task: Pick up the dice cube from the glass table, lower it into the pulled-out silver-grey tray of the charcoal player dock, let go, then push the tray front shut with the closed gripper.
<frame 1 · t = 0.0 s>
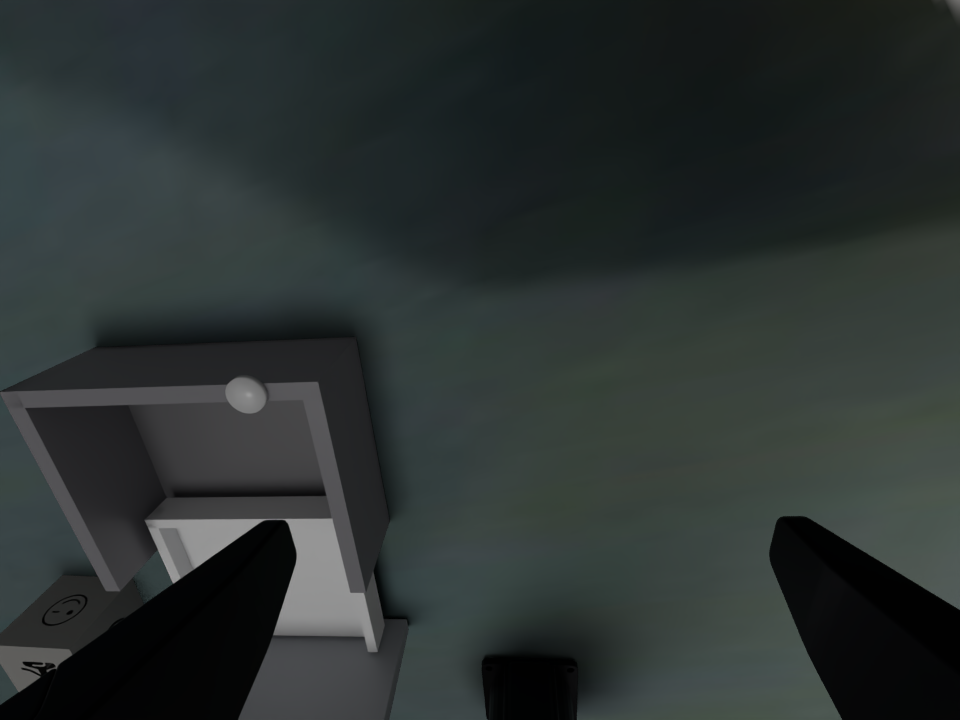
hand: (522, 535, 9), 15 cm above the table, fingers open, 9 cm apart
housing: (252, 441, 26), on the table
dice cube: (112, 599, 33), on the table
tray: (264, 609, 27), point 3 cm above the table, slide at 8.0 cm
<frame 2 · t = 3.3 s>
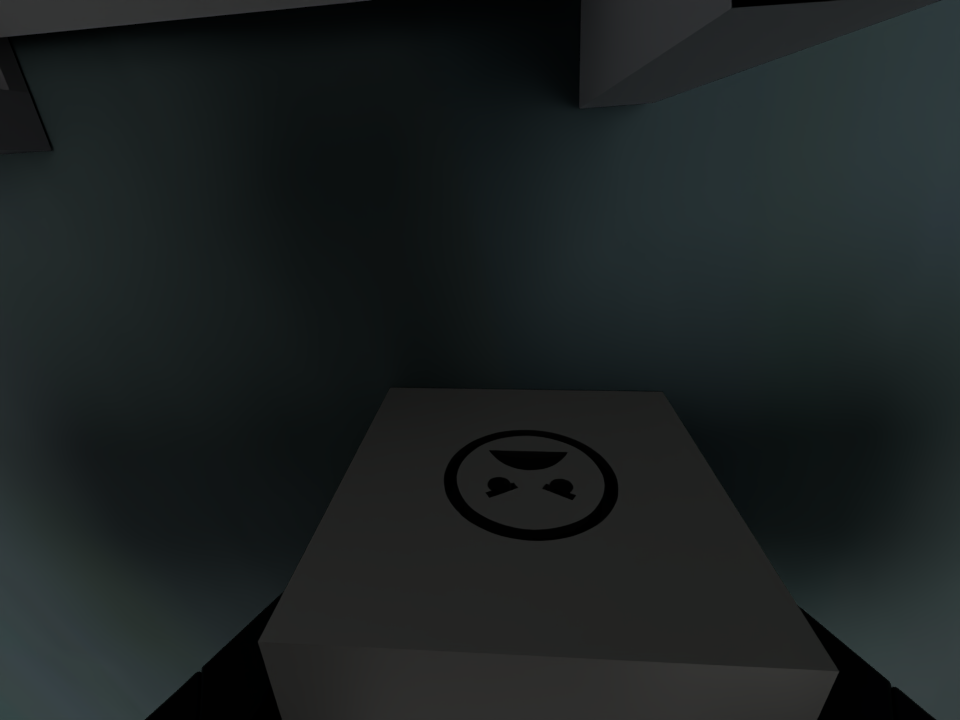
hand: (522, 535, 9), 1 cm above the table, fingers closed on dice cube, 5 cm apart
dice cube: (520, 491, 10), on the table, touching gripper
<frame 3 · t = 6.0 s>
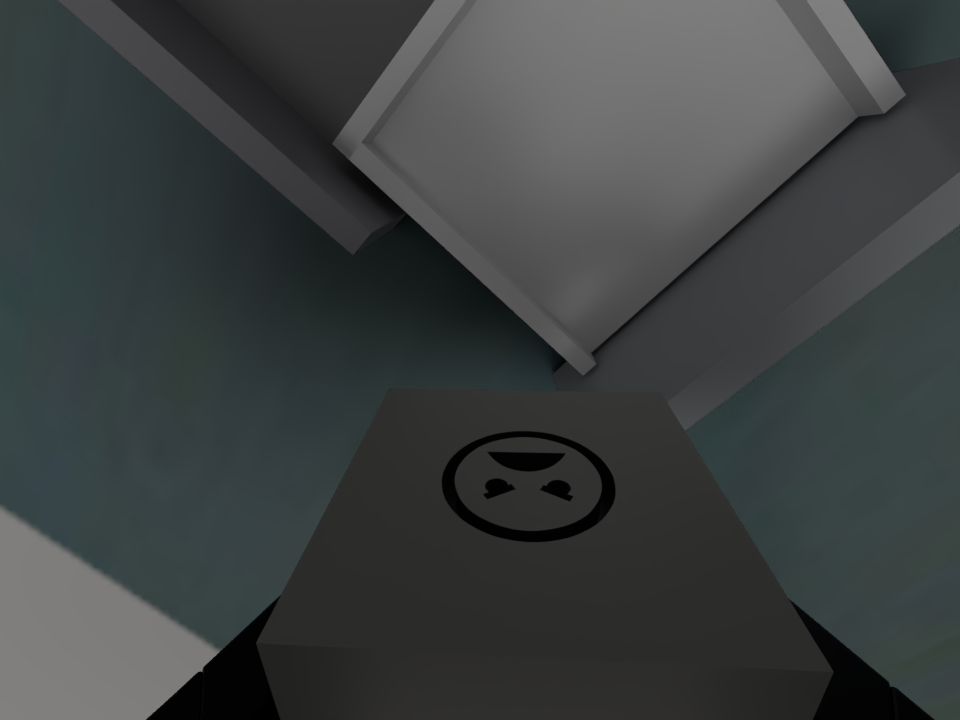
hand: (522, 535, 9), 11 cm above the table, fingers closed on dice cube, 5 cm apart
dice cube: (520, 492, 10), point 9 cm above the table, touching gripper
tray: (628, 135, 12), point 3 cm above the table, slide at 8.0 cm
when the fingers open (4 cm above the table, at t = 8.3 s): dice cube drops 1 cm, resting on tray.
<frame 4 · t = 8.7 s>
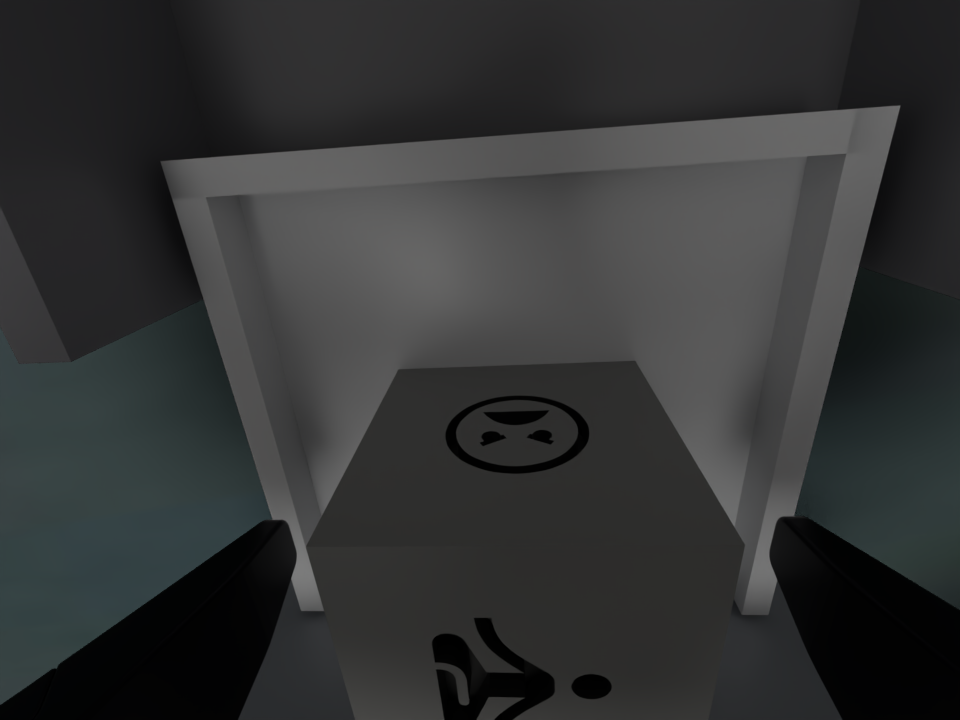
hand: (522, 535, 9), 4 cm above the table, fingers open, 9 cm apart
dice cube: (518, 457, 11), point 1 cm above the table, touching tray
tray: (519, 477, 9), point 3 cm above the table, slide at 8.1 cm, touching dice cube
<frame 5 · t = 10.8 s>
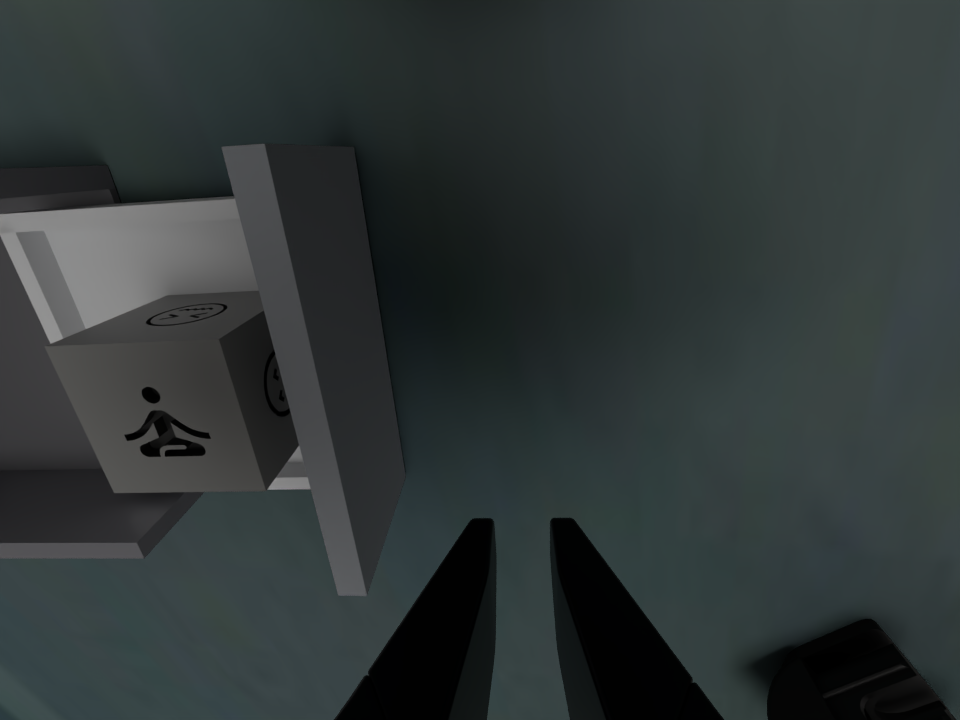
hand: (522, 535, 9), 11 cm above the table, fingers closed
housing: (45, 347, 20), on the table
dice cube: (252, 352, 18), point 1 cm above the table, touching tray
end cap: (840, 682, 26), on the table
tray: (197, 375, 17), point 3 cm above the table, slide at 8.1 cm, touching dice cube
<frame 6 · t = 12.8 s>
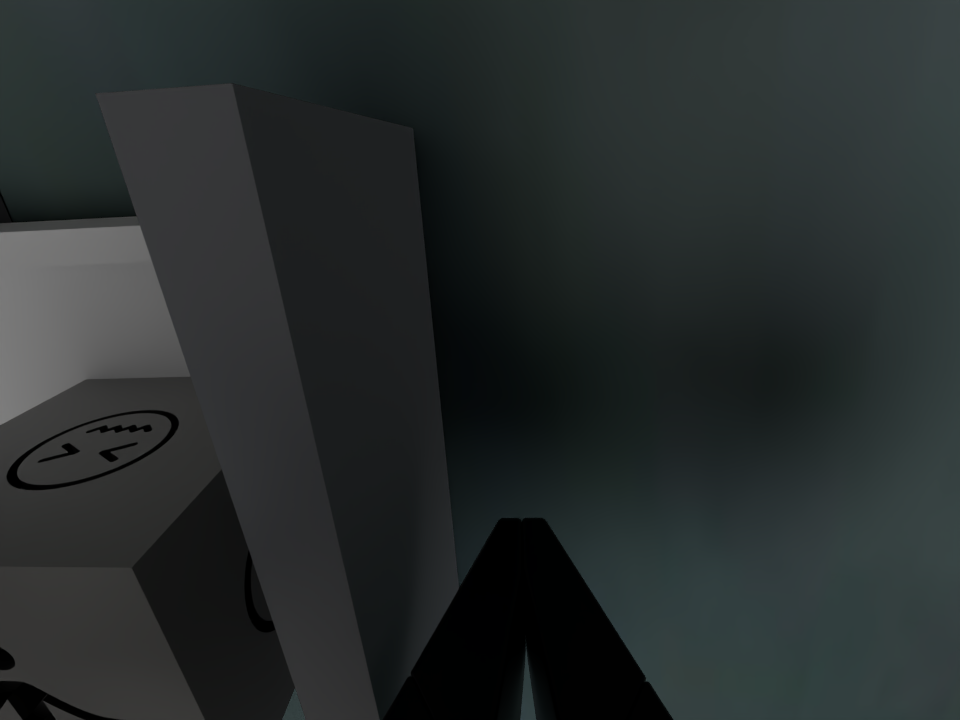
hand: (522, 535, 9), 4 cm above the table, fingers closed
dice cube: (232, 467, 11), point 1 cm above the table, touching tray
tray: (131, 527, 9), point 3 cm above the table, slide at 8.1 cm, touching dice cube, gripper
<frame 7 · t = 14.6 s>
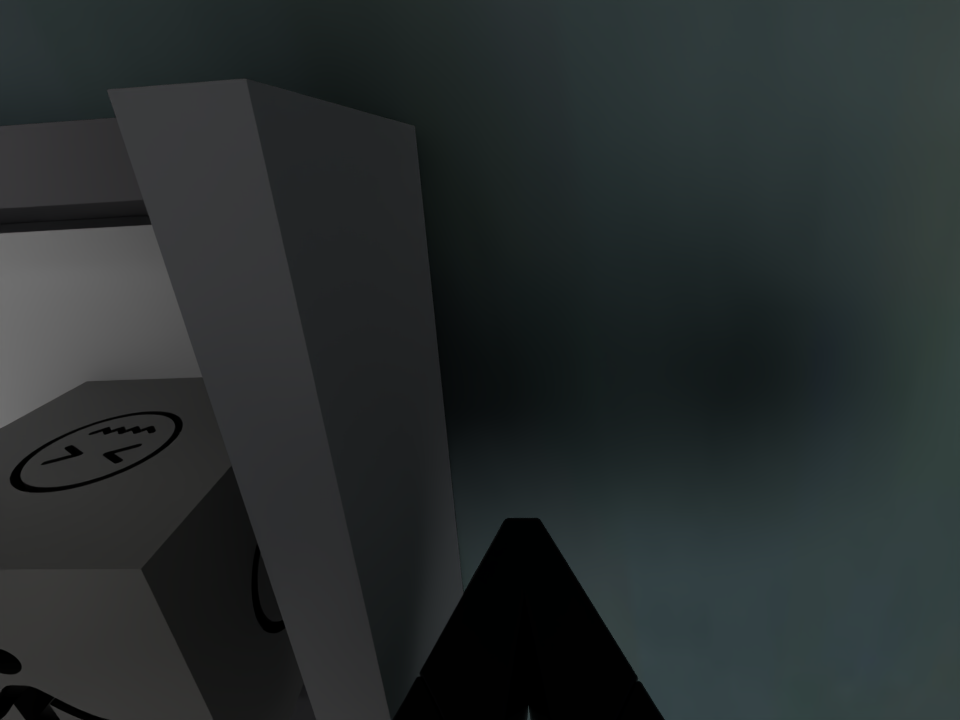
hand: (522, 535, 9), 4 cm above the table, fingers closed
housing: (190, 436, 12), on the table
dice cube: (234, 468, 11), point 1 cm above the table, touching tray
tray: (134, 530, 9), point 3 cm above the table, slide at -0.1 cm, touching dice cube, gripper
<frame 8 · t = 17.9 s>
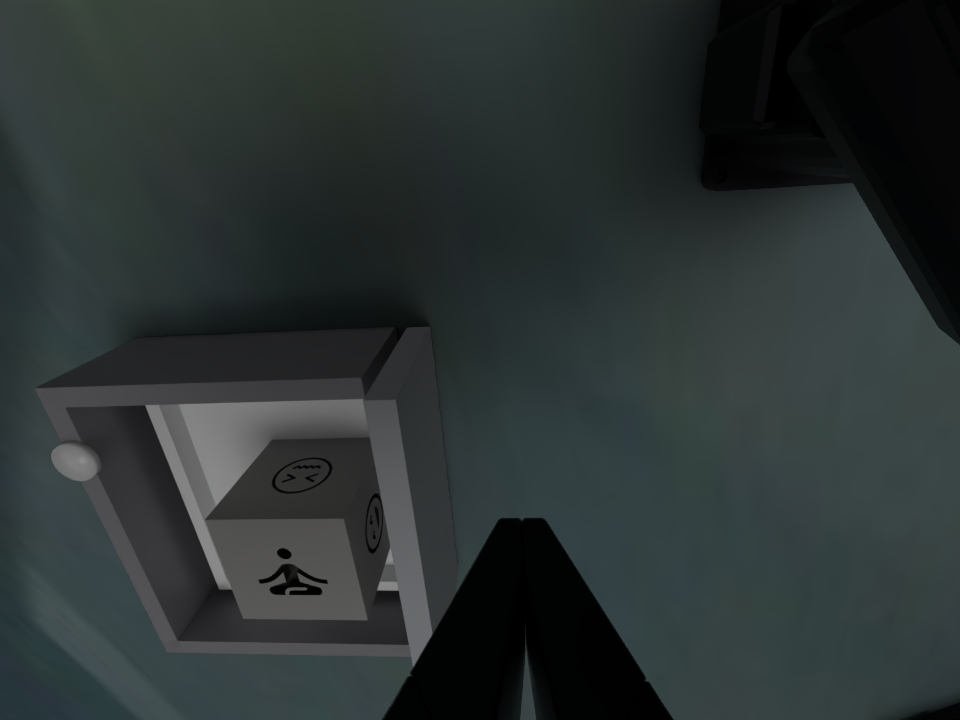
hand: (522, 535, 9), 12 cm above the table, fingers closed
housing: (300, 463, 23), on the table
dice cube: (338, 481, 22), point 1 cm above the table, touching tray
tray: (300, 510, 20), point 3 cm above the table, slide at 0.3 cm, touching dice cube
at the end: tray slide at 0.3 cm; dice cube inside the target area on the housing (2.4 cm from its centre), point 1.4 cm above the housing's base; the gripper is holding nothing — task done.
